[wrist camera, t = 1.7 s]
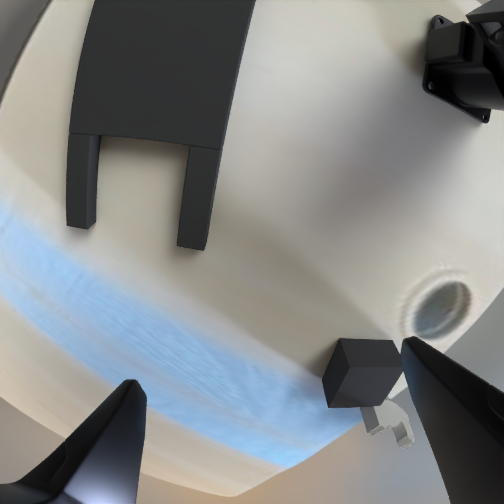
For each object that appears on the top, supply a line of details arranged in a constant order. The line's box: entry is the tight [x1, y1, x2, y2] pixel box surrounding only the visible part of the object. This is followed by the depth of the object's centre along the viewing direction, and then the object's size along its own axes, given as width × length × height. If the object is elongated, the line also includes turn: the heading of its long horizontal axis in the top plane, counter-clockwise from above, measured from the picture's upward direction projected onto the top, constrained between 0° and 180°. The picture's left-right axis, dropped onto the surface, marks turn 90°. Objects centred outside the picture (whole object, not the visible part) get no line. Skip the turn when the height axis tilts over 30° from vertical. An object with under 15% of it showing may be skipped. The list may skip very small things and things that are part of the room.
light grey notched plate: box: [360, 399, 415, 448], centre depth 27 cm, size 6×1×10 cm
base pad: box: [66, 0, 256, 251], centre depth 16 cm, size 10×18×2 cm, turn 169°
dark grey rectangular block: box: [322, 338, 403, 408], centre depth 24 cm, size 5×5×4 cm
